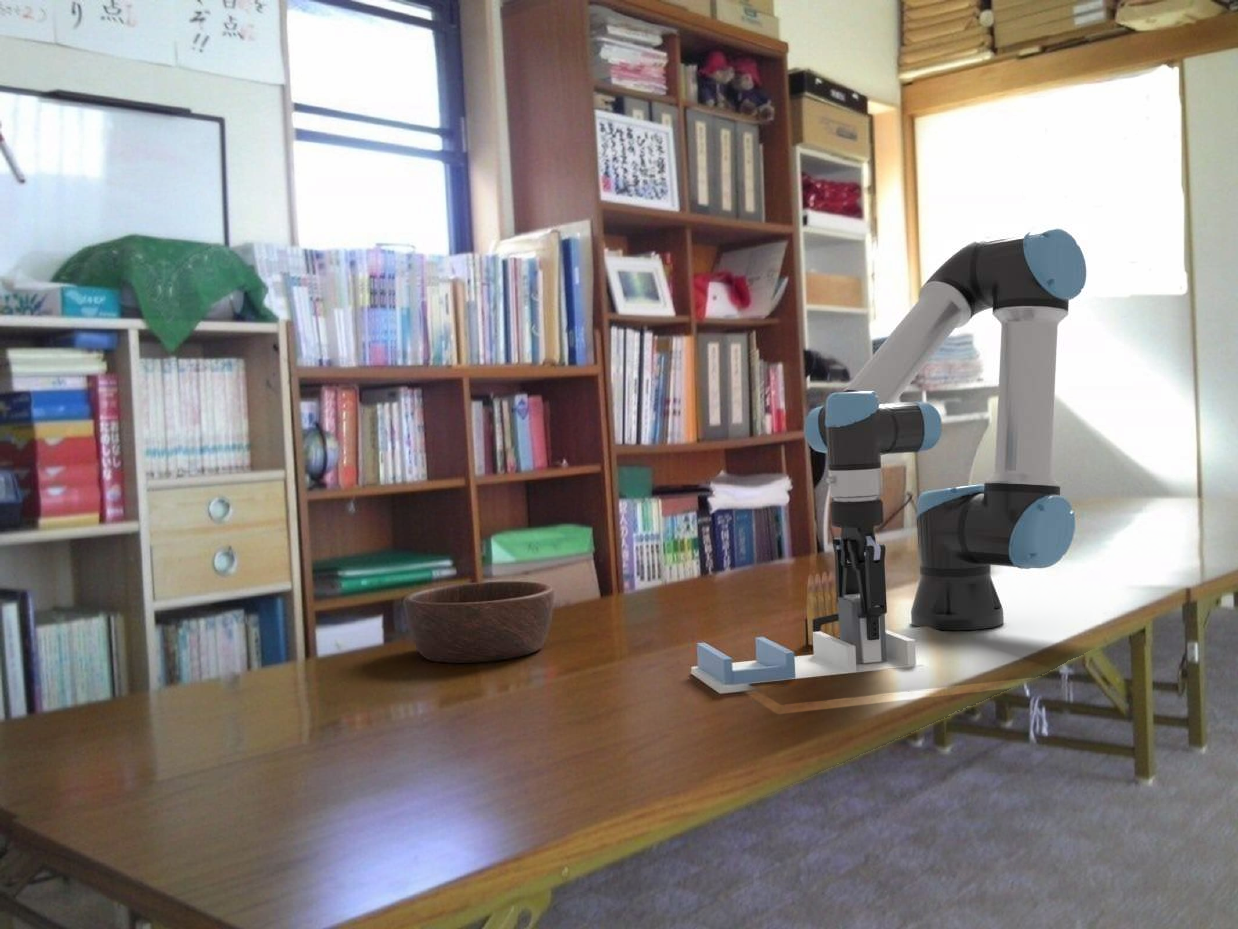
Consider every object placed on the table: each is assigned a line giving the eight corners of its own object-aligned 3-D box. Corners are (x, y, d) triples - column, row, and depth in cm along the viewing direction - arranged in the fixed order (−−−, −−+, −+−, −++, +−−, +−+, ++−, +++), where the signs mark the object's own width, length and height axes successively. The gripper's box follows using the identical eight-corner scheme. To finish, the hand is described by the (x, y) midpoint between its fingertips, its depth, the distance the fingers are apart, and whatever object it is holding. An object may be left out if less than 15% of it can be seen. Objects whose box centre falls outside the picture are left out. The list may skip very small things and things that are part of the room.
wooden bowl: (376, 659, 209) (372, 598, 208) (489, 634, 227) (486, 577, 227) (474, 674, 192) (470, 608, 191) (587, 646, 210) (584, 585, 210)
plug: (872, 655, 185) (869, 591, 184) (886, 661, 180) (883, 596, 179) (840, 658, 183) (837, 594, 183) (854, 664, 179) (851, 599, 178)
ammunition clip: (815, 652, 194) (811, 575, 194) (805, 651, 196) (801, 574, 195) (856, 641, 201) (853, 567, 201) (847, 639, 203) (844, 566, 202)
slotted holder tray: (881, 654, 190) (880, 624, 190) (923, 672, 176) (922, 640, 176) (691, 673, 183) (689, 643, 183) (719, 693, 170) (718, 660, 169)
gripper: (808, 496, 189) (815, 649, 190) (857, 504, 171) (864, 672, 172) (855, 493, 190) (862, 645, 191) (907, 500, 173) (915, 667, 174)
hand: (863, 657), depth 182 cm, fingers closed on plug, 5 cm apart
